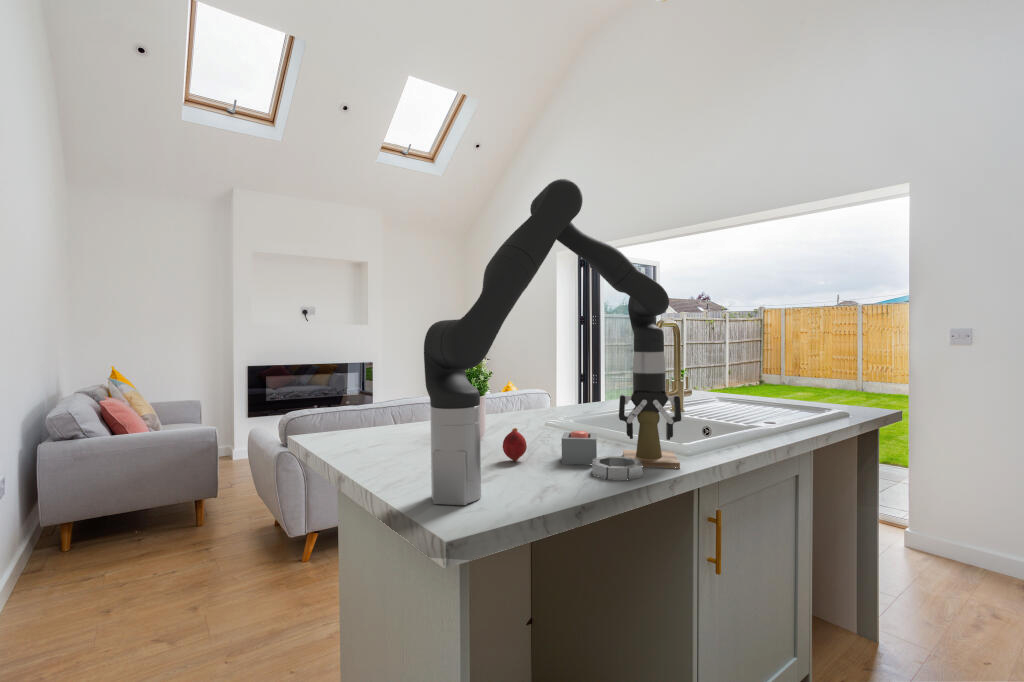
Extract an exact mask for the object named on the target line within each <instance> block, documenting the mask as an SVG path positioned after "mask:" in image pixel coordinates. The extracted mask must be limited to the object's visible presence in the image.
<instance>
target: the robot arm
mask: <svg viewBox="0 0 1024 682" xmlns="http://www.w3.org/2000/svg"><path fill="white" fill-rule="evenodd" d="M583 200H584V199H583V194H582V190H581V188H580V187H579V185H578V184H577V183H576V182H575V181H573V180H571V179H568V178H559V179H555V180H553V181H552V182H550V183H548V184H547V185H546V186H545V187H544V188H543V189H542V190H541V191H540V192H539V193H538V194H537V195H536V197H535V198H534V199H532V201H531V204H530V215H529V217H528V218H527V219H526V220H525V221H524V222H523V223H522V224H520V226H519V227H518V228H517V229H516V230H515V231H513V232H512V234H510V235H509V236H508V238H506V240H505V241H504V242H503V243H502V244H501V245H500V247H499V248H498V249H497V251H496V252H495V253H494V254H493V256H491V258H490V260H489V261H488V263H487V265H486V266H485V269H484V273H483V279H482V289H481V292H480V295H479V297H478V298H477V300H476V301H475V303H474V304H473V305H472V306H471V308H470V309H469V310H468V311H467V312H466V314H465V315H463V316H462V317H461V318H459V319H445V320H439V321H437V322H435V323H433V324H432V325H430V327H429V328H428V330H427V331H426V334H425V335H424V336H425V338H424V342H423V362H424V363H423V364H424V381H425V388H426V391H427V393H428V394H427V395H428V396H429V401H430V402H429V404H430V463H431V464H430V469H431V471H430V477H431V478H430V479H431V500H432V504H434V505H447V506H448V505H453V506H467V505H468V504H470V503H473V502H475V501H478V500H480V499H481V497H482V468H481V467H482V466H481V464H482V462H481V458H482V457H481V397H480V395H481V394H480V391H479V389H478V388H476V387H475V386H474V385H472V383H471V382H470V381H469V379H468V378H467V374H466V373H467V371H466V370H471V369H473V368H476V367H478V365H480V364H481V363H482V362H483V360H484V359H485V357H486V356H487V354H488V352H489V351H490V350H491V347H492V346H493V343H494V341H495V339H496V338H497V335H498V334H499V332H500V331H501V328H502V327H503V324H504V322H505V321H506V319H507V318H508V316H509V314H510V313H511V311H512V310H513V309H514V307H515V305H516V303H517V302H518V301H519V300H520V297H521V296H522V294H523V293H524V292H525V291H526V289H527V288H528V287H529V285H530V283H531V282H532V280H533V279H534V277H535V276H536V274H537V273H538V271H539V270H540V268H541V266H542V264H543V263H544V261H545V260H546V259H547V257H548V255H549V254H550V251H551V250H552V248H553V247H554V244H555V243H556V242H558V243H560V244H561V245H563V246H564V247H565V248H567V249H568V250H570V251H571V252H573V253H574V254H576V256H578V257H579V258H580V259H582V260H583V261H584V262H586V263H587V264H588V265H590V267H592V269H594V270H595V272H597V273H598V274H599V275H600V276H601V277H602V278H603V279H604V280H605V281H606V282H607V283H608V285H610V286H611V288H613V289H614V290H615V291H617V292H619V293H624V294H626V295H627V296H629V298H628V303H627V310H628V317H629V320H630V325H631V329H632V332H633V357H632V366H631V367H632V394H631V395H625V394H623V393H622V394H620V395H619V404H618V419H619V421H622V422H625V423H626V424H625V425H626V426H625V427H626V435H627V437H629V439H630V440H633V439H634V428H633V427H634V426H633V425H634V424H633V423H634V422H633V421H634V420H635V418H637V415H638V414H639V413H640V412H643V411H654V412H657V413H660V414H661V415H662V417H663V418H664V419H665V420H666V422H665V438H666V440H667V441H670V440H671V438H673V437H674V424H675V423H677V422H681V421H682V409H681V398H680V397H681V396H679V395H678V394H674V395H667V393H666V392H667V390H666V387H667V386H666V384H667V383H666V380H667V379H666V357H665V334H664V330H663V329H662V328H661V327H659V326H658V325H657V321H656V317H657V316H661V315H662V314H664V313H665V312H666V311H667V310H668V309H669V306H670V298H669V295H668V293H667V291H666V289H664V287H663V286H662V285H661V284H660V283H659V282H657V281H656V280H654V279H653V278H651V277H650V276H649V275H647V274H646V273H644V272H642V271H641V270H639V269H638V267H636V266H635V264H633V262H632V261H630V259H629V258H628V257H627V256H625V254H624V253H623V252H622V251H621V250H619V248H617V247H615V246H613V245H612V244H609V243H607V242H605V241H603V240H601V239H598V238H596V237H594V236H593V235H592V236H591V235H590V234H588V233H586V232H584V231H583V230H582V229H580V228H579V227H578V226H577V225H576V224H575V223H574V222H573V220H574V219H575V218H576V217H577V216H578V215H579V213H580V211H581V209H582V207H583ZM629 401H631V402H632V404H633V405H634V407H633V409H632V410H631V411H630V413H629V414H628V416H627V415H625V413H626V411H625V410H626V405H628V404H629ZM668 401H669V403H670V405H672V406H673V413H674V414H673V416H671V415H670V414H669V413H668V412H667V410H666V409H665V408H664V407H665V405H666V404H667V403H668Z"/></svg>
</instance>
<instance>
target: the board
mask: <svg viewBox="0 0 1024 682" xmlns="http://www.w3.org/2000/svg"><path fill="white" fill-rule="evenodd" d="M636 450H637V449H623V450H622V455H623V456H624V457H630V458H634V459H638V460H640V461H641V462H642V466H643V467H642V468H649V467H663V468H662V469H681V463H680V461H679V460H678V457H677V456H676V455H675V453H674V451H671V450H661V453H662V458H659V459H643V458H639V457H637V456H636ZM675 467H676V468H675Z"/></svg>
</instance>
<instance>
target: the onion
mask: <svg viewBox="0 0 1024 682" xmlns="http://www.w3.org/2000/svg"><path fill="white" fill-rule="evenodd" d="M527 447H528V446H527V440H526V439H525V437H524V435H523V434H521V433H520V432H519V431H518V428H517V427H513V428H512V429H511V432H509V433H508V434H507V435H506V436H505V437H504V439H503V442H502V451H503V453H504V454H505V456H506V457H507V458H508V459H510V460H512V461H513V462H516V461H518V460H519V459H520V458H521V457H522V456H524V454H525V453H526V451H527Z"/></svg>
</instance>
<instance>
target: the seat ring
mask: <svg viewBox="0 0 1024 682" xmlns="http://www.w3.org/2000/svg"><path fill="white" fill-rule="evenodd" d="M591 466H592V467H591V468H592V472H591V473H592V474H593V475H595V476H594V477H597V476H599V477H598V478H600V477H602V478H601V479H603V478H605V479H604V480H608V479H612V480H611V481H631V480H630V479H633V480H636V479H635V478H637V479H639V478H638V477H641V478H643V477H642V476H644V475H643V472H644V471H643V467H642V462H641V461H640V460H638V459H634V458H630V457H623V456H617V455H613V456H612V455H607V456H600V457H597V458H594V459H593V461H592V465H591ZM593 475H592V476H593ZM613 479H615V480H613ZM627 479H629V480H627Z"/></svg>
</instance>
